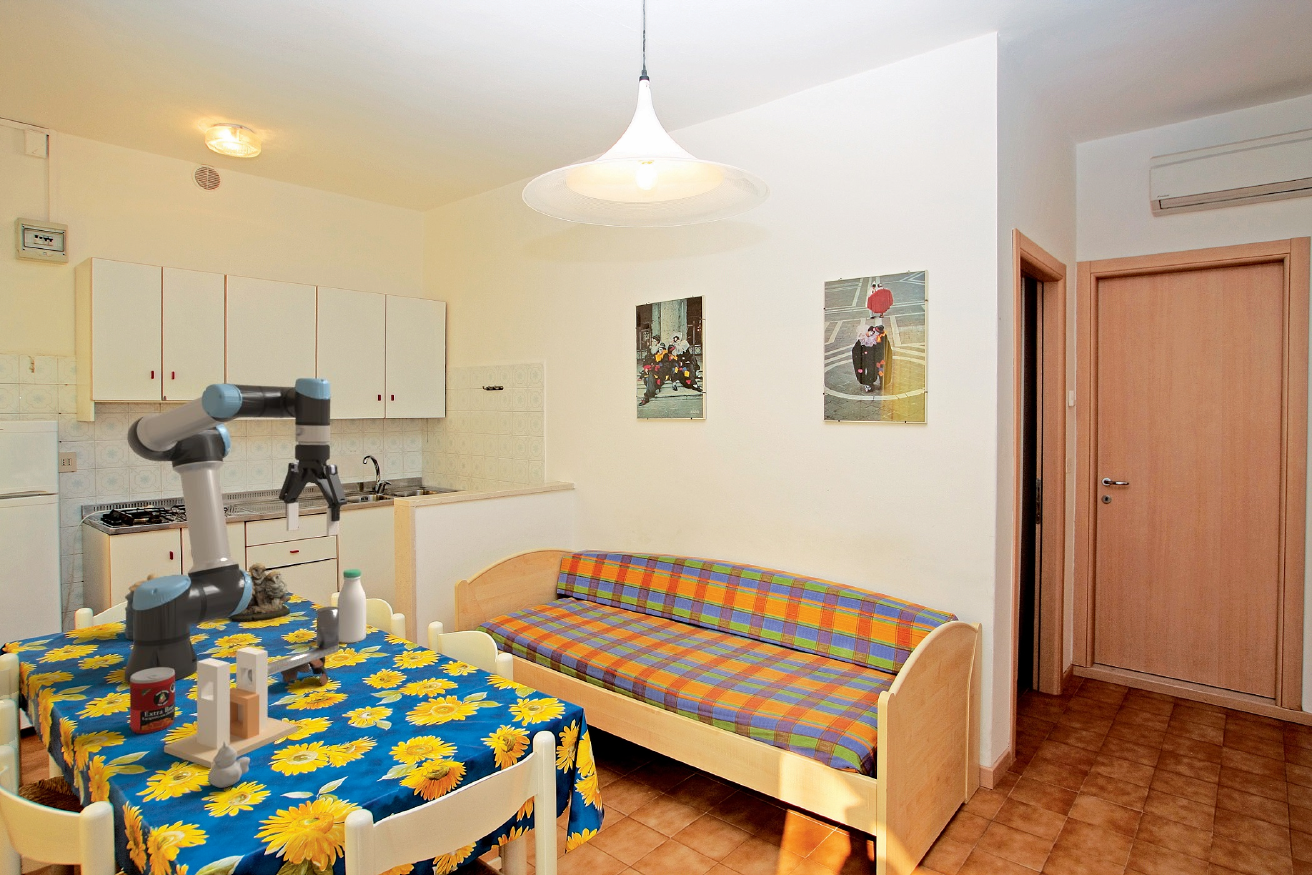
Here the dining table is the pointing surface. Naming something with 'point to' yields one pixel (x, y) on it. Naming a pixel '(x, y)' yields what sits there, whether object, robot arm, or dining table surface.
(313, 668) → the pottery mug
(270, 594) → the owl figurine
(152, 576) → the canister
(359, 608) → the milk bottle
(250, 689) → the wooden twin post stand
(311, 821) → the dining table surface
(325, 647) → the shaft
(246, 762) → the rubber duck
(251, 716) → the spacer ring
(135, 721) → the canned food
